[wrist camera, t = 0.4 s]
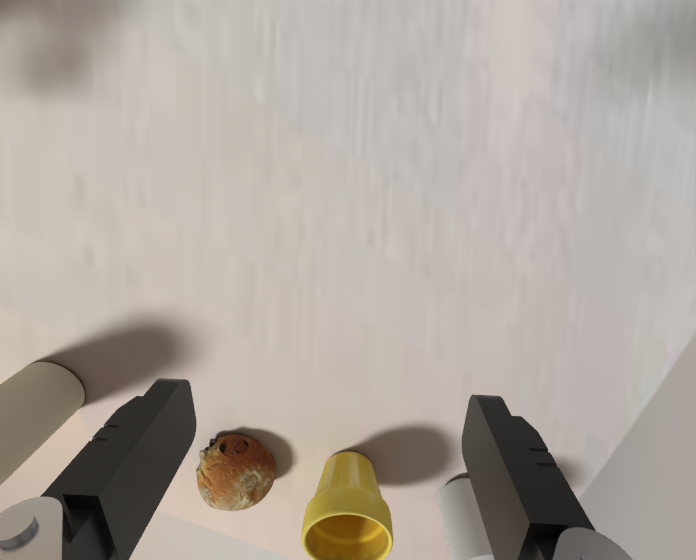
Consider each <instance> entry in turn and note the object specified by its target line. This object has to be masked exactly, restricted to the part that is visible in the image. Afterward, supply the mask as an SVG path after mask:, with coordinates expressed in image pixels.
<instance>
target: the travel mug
mask: <svg viewBox="0 0 696 560" xmlns="http://www.w3.org/2000/svg"><path fill="white" fill-rule="evenodd" d="M84 399H85V393H84V389H83V386H82V384H81V383H80V381H79V380H78V379H77V378H76V376H74V375H73V374H72V373H71V372H70V371H68V370H67V369H65V368H63V367H61V366H59V365H56V364H53V363H49V362H35V363H32V364H30V365H28V366H26V367H25V368H23V369H22V370H21V371H19V372H18V373H16V374H15V375H13V376H12V377H10V378H9V379H8V380H6V381H5V382H3V383H2V384H0V485H1V484H2V483H3V482H4V481H5V480H6V479H7V478H8V477H9V476H10V475H11V474H12V473H13V472H14V471H15V470H17V469H18V468H19V467H20V466H21V465H22V464H23V463H24V462H25V461H26V460H27V459H28V458H29V457H30V456H31V455H32V454H33V453H34V452H35V451H36V450H37V449H38V448H39V447H40V446H41V445H42V444H43V443H44V442H45V441H46V440H47V439H48V438H49V437H50V436H51V435H52V434H53V433H55V431H57V429H59V428H60V427H61V426H62V424H64V423H65V422H66V421H67V420H68V419H69V418H70V417H71V416H72V415H73V414H74V413H75V412H76V411H77V410H78V409H79V408H80V407H81V406H82V405H83V403H84Z"/></svg>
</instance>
